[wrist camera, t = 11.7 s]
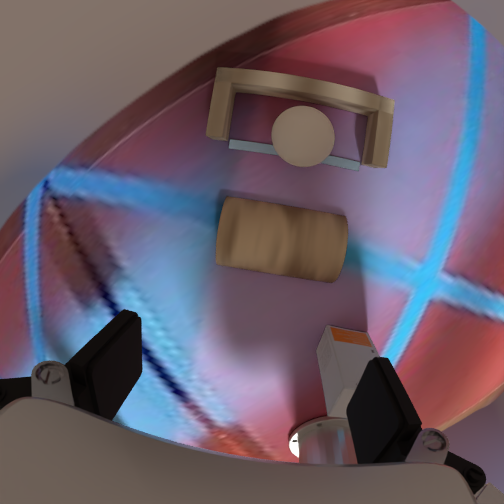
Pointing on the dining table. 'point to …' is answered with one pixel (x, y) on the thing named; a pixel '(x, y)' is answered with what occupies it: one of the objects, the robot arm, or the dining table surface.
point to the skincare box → (342, 365)
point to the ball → (303, 136)
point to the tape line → (270, 150)
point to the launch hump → (281, 239)
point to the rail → (306, 91)
